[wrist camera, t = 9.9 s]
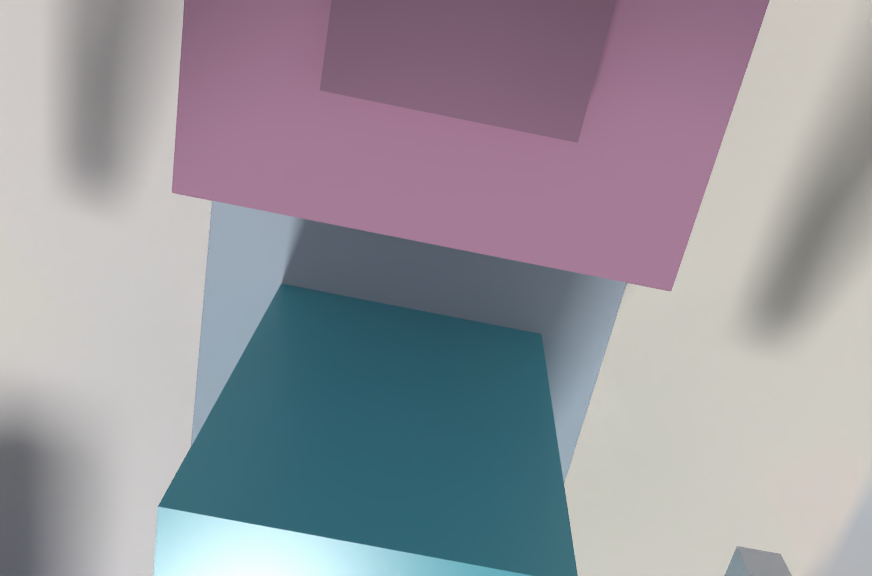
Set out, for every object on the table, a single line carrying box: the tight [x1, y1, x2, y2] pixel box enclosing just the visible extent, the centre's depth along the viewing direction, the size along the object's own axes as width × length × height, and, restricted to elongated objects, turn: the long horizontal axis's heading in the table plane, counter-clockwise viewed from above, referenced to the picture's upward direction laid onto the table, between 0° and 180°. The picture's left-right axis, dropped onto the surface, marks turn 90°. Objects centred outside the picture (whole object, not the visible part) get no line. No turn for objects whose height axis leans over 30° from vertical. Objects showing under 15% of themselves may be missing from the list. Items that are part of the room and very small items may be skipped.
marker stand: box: [172, 0, 769, 482], centre depth 13 cm, size 8×18×8 cm, turn 169°
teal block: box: [153, 284, 578, 576], centre depth 14 cm, size 5×5×7 cm
